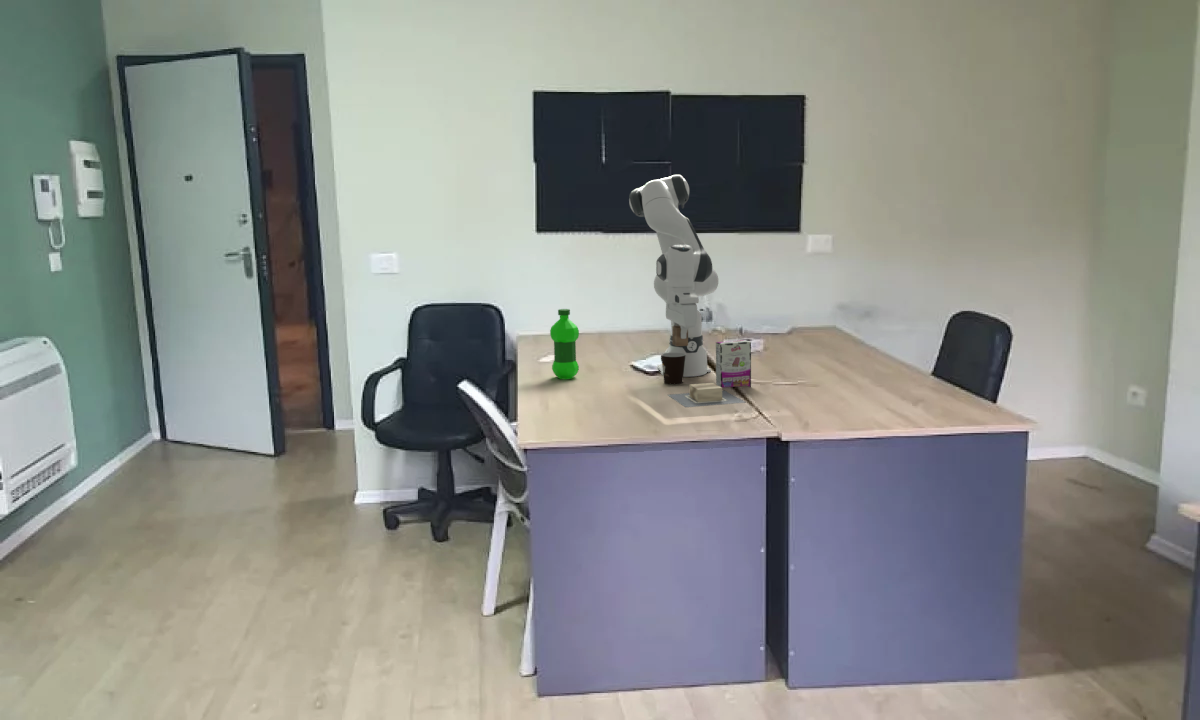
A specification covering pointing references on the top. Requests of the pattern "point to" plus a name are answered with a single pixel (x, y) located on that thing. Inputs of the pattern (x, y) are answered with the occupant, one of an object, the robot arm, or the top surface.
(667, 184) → the robot arm
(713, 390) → the maple base block
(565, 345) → the plastic bottle
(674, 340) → the walnut block
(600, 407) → the top surface
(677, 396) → the board
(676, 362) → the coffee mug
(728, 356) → the candy bar box
